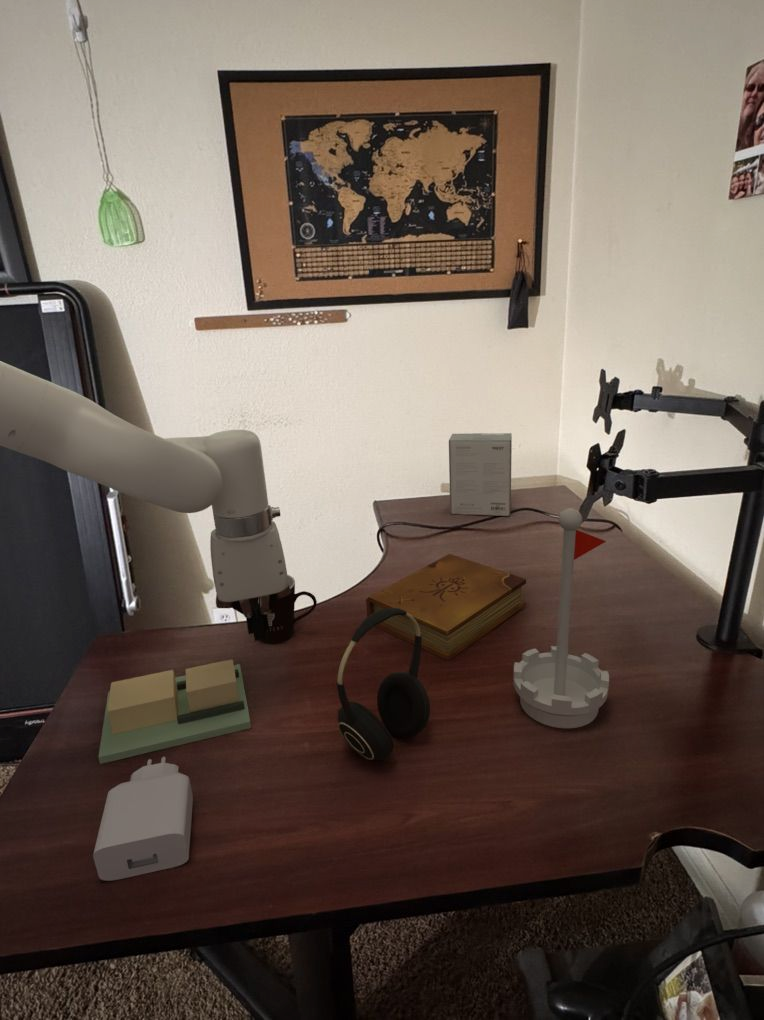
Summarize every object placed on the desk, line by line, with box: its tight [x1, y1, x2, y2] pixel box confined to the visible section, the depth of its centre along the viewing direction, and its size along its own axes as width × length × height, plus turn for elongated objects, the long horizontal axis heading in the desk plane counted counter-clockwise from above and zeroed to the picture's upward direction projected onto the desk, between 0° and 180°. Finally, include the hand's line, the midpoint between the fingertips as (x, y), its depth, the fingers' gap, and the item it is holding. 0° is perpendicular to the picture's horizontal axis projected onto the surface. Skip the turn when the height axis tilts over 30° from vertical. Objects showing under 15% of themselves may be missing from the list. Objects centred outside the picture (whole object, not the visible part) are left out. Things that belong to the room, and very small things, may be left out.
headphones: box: [336, 608, 431, 761], centre depth 81 cm, size 9×15×20 cm, turn 135°
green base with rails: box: [98, 663, 252, 765], centre depth 92 cm, size 20×15×5 cm
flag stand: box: [512, 507, 610, 729], centre depth 86 cm, size 13×13×30 cm
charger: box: [92, 756, 194, 882], centre depth 74 cm, size 5×9×15 cm
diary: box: [365, 553, 527, 662], centre depth 115 cm, size 23×19×6 cm
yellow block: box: [185, 658, 239, 713], centre depth 93 cm, size 7×6×4 cm
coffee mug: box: [249, 574, 318, 645], centre depth 109 cm, size 12×9×10 cm
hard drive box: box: [448, 432, 513, 517], centre depth 161 cm, size 16×8×20 cm, turn 77°
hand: (259, 635), depth 93 cm, fingers closed
